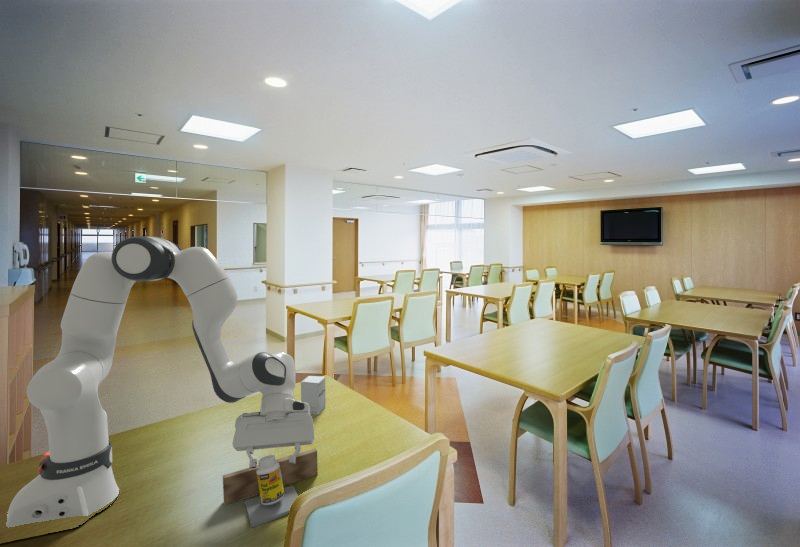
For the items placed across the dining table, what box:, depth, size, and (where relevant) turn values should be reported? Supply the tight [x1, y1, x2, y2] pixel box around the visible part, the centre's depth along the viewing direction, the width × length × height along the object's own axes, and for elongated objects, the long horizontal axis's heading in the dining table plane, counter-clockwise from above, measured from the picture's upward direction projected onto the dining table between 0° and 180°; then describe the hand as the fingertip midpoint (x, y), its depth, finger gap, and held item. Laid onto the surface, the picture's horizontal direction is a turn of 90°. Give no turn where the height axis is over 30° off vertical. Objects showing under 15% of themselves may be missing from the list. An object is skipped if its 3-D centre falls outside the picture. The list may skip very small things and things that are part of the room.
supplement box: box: [300, 375, 327, 416], centre depth 145 cm, size 7×7×13 cm
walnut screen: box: [222, 448, 319, 506], centre depth 99 cm, size 24×2×7 cm, turn 121°
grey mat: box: [244, 485, 299, 528], centre depth 92 cm, size 12×9×1 cm
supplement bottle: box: [256, 454, 285, 505], centre depth 93 cm, size 6×6×10 cm
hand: (272, 465), depth 93 cm, fingers open, 8 cm apart
